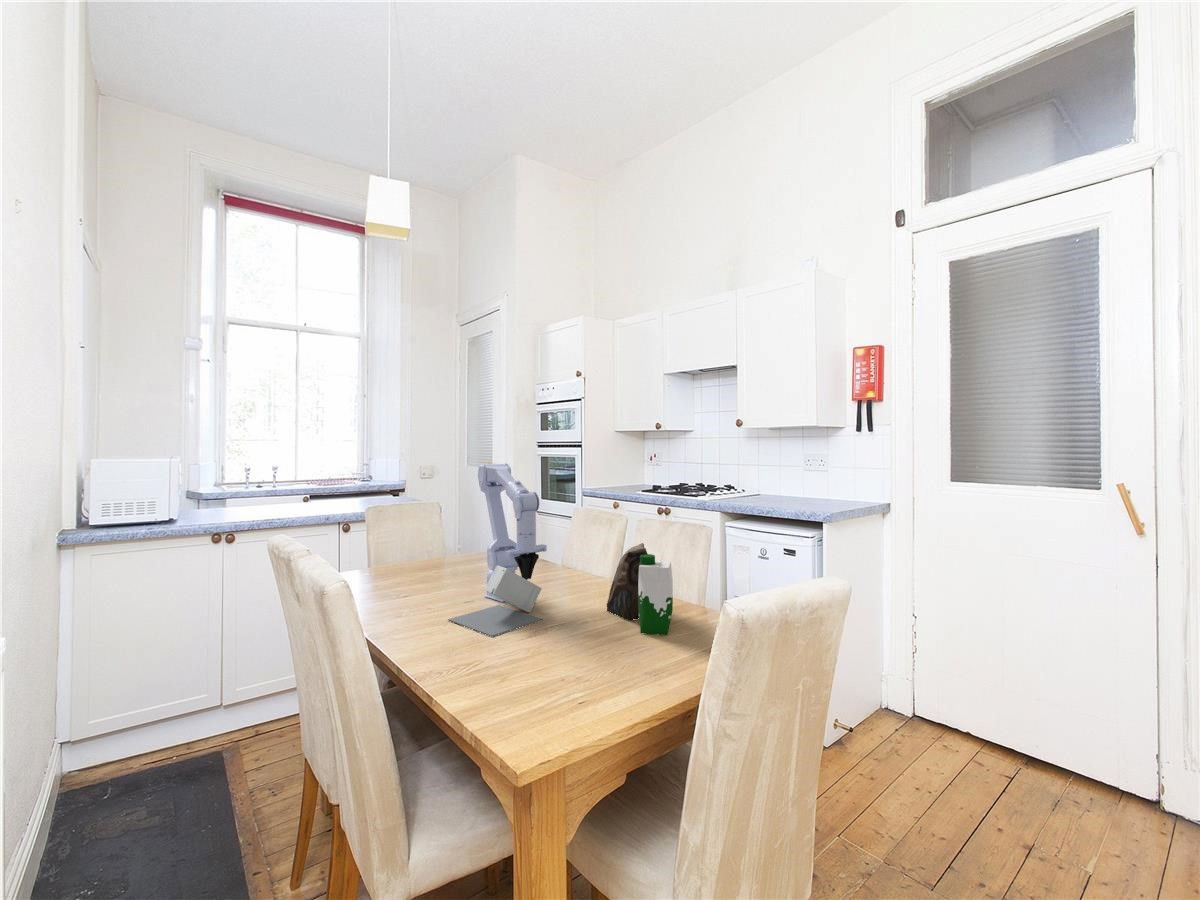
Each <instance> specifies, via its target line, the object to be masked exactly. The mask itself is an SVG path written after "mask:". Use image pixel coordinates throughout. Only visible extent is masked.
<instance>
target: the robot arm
mask: <svg viewBox="0 0 1200 900" xmlns="http://www.w3.org/2000/svg"><path fill="white" fill-rule="evenodd" d="M511 469H512V468H511V467H510V465H509V463H506V462H504V463H493V464H490V463H489V464H487V463H481V464H480V465H479V466H478V469H477V481H478V485H479V489H480V491H481V492H482V493H484V497H485V501H486V506H487V511H488V517H489V523H490V528H491V533H492V539H493V542H492V543H490V544H489V546H488V547H487V550H486V557H487V558H486V563H487V567H488V568H489V571H488V572H487V575H486V585H487V584H488V582H489V580H490V578H491V576H492V574H493V572H494V570H495V568H496V566H497V565H498V566H501V567H504V568H507V569H508V570H510V571H512V572H514V573H515V574H516V571H517V570H518V568H519V572H520V576H521V577H523V578H524V579H526V580H528V581H529V580H531V579H532V577H533V576H532V575H533V573H534V569H535V566H536V563H537V561H538V560H539V556H540V555H539V554H538V553H540V552H542V553H543V552H547V547H548V546H547V544H543V543H541V544H537V515H536V514H537V512H538V510H539V508H540V499H539V495H538V493H537V492H534V491H533V492H532V491H529V490H528V489H527V488H526V487H525V485H523V483H522V482H521V481H520V480H515V478H514V477H513V476H512V470H511ZM503 491H505V495H506V496H507V497H508V498H509V499H510V500H511V502H512V507H513V510H514V511H513V512H514V518H515V519H516V541H514V540H512V539H510V538H509V532H508V527H507V523H506V521H507V520H506V517H505V511H504V506H503V502H502V496H501V493H502V492H503ZM484 598H487V599H491V600H493V601H494V600H495V601H497V602H502V603H504V602H505V601H504V600H502V599H500V598H498V597H496V596H495V595H493V594H491V593H489V592H487V591H486V594H484Z"/></svg>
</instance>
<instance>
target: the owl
mask: <svg viewBox="0 0 1200 900" xmlns="http://www.w3.org/2000/svg"><path fill="white" fill-rule="evenodd" d="M643 554H649V553H648V550H647V548H646V547H645V544H644V543H643V542H642V543H640V544H637V545H635V546H632V547H630V548H629V549H627V550H626V551H625V553H624V554H623V555H622V556H621V558H620V560H619V562H618V564H617V567H616V571H615V574H614V577H613V579H612V582H611V585H610V590H609V594H608V599H607V602H606V610H607V611H609V612H608V613H610V612H611V613H610V614H612V613H613V614H612V615H614V614H616V615H615V616H617V615H618V616H620V617H619V618H621V617H623V618H624V619H623V618H622V619H623V620H625V619H628V620H627V621H629V620H633V619H638V618H639V603H638V583H639V563H640V555H643ZM607 611H606V612H607ZM618 616H617V617H618ZM638 620H639V619H638Z"/></svg>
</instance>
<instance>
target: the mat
mask: <svg viewBox="0 0 1200 900" xmlns="http://www.w3.org/2000/svg"><path fill="white" fill-rule="evenodd" d="M448 620H449V621H448ZM541 620H542V621H543V620H544V618H542V617H539V616H536V615H534V614H533V615H532V614H530V613H528V612H527V613H526V612H523V611H521V610H520V611H519V610H516V609H513V608H512V607H508V606H504V605H500V604H497V605H494V606H490V607H486V608H483V609H479V610H476V611H472V612H469V613H465V614H461V615H459V616H455V617H452V618H447V621H448V622H450V621H451V623H453V622H454V623H453V624H456V623H457V624H456V625H458V624H459V625H458V626H461V625H462V626H461V627H464V626H465V627H464V628H466V627H467V628H466V629H469V628H470V630H471V629H473V630H472V631H474V630H475V631H474V632H477V631H478V632H477V633H479V632H481V633H480V634H482V633H483V635H485V634H486V635H485V636H487V635H489V636H488V637H490V636H491V637H490V638H493V637H492V636H494V637H496V635H497V636H499V635H498V634H500V635H502V634H501V633H503V634H505V633H504V632H506V633H508V632H507V631H509V632H511V631H510V630H512V631H514V630H513V629H515V630H517V629H516V628H518V629H520V628H519V627H521V628H523V627H522V626H524V627H526V626H525V625H527V626H529V624H530V625H533V624H535V622H536V623H539V622H542V621H541ZM538 621H539V622H538ZM532 623H533V624H532Z"/></svg>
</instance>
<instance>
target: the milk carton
mask: <svg viewBox="0 0 1200 900" xmlns="http://www.w3.org/2000/svg"><path fill="white" fill-rule="evenodd" d="M672 569H673V568H672V561H665V560H659V559H657V560H656V556H655V554H650V553H648V554H643V555H640V563H639V583H638V603H639V619H638V623H639V630H640V631H639V633H640V634H641V633H646V634H645V635H653V634H659V635H658V636H668V635H669V631H670V626H671V621H672V618H673V617H672V616H673V611H674V610H673V609H674V608H673V605H674V604H673V603H674V601H673V600H674V599H673V595H674V593H673V591H674V589H673V588H674V587H673V586H674V585H673V582H674V580H673V570H672Z"/></svg>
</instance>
